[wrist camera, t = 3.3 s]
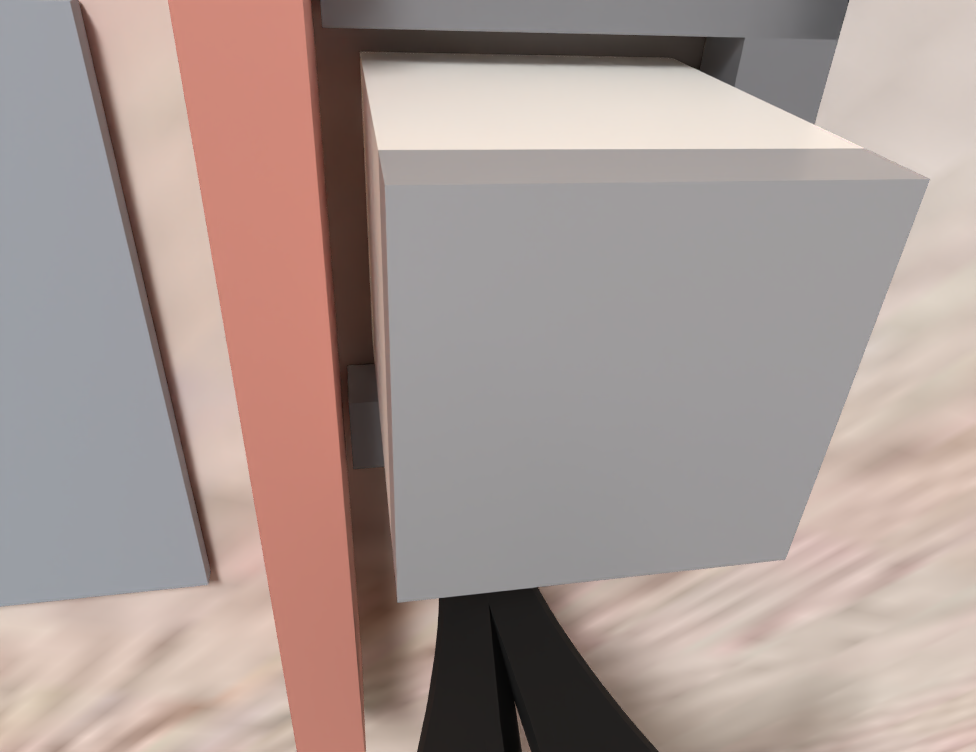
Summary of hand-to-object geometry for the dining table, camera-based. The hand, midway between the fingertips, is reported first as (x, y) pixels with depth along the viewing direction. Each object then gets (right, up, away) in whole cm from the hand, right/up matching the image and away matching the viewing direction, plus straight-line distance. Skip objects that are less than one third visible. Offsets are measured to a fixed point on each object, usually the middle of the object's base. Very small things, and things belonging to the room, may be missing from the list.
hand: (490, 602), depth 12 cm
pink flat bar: (-3, +4, -2) cm, 5 cm away
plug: (0, +6, -2) cm, 6 cm away
